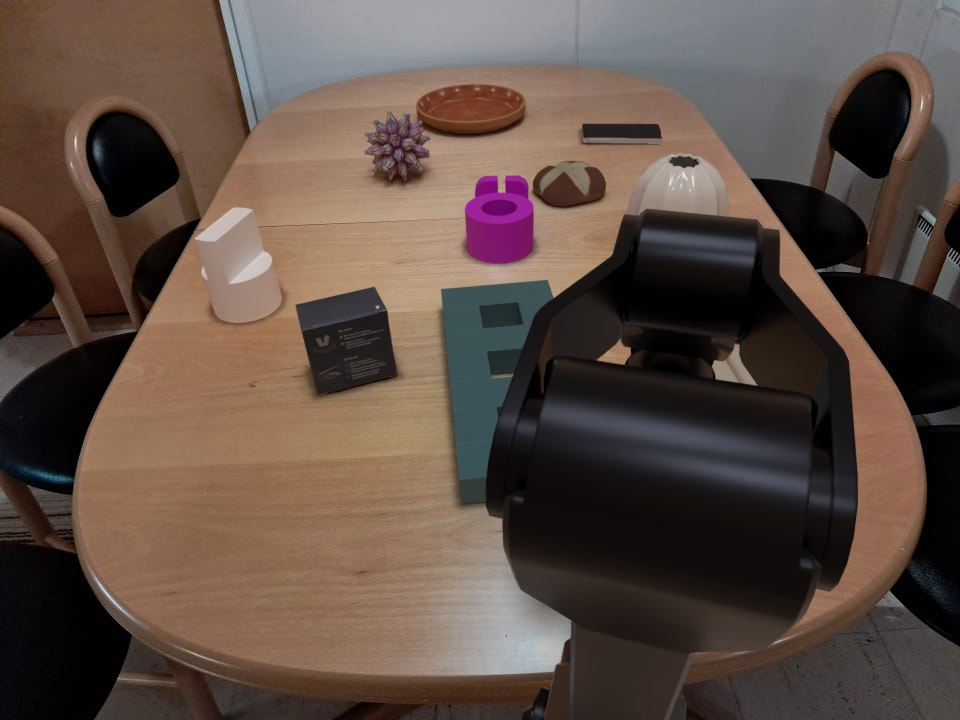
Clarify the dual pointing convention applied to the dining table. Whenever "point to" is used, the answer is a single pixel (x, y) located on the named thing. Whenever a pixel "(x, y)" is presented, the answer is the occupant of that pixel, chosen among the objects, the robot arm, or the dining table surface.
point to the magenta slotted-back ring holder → (500, 220)
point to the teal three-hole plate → (484, 365)
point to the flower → (397, 145)
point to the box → (347, 339)
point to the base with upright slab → (238, 268)
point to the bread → (569, 183)
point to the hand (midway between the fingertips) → (636, 561)
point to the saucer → (471, 108)
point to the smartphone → (622, 133)
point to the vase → (680, 187)
